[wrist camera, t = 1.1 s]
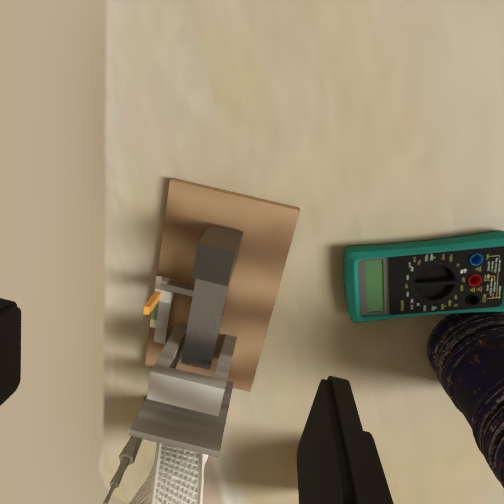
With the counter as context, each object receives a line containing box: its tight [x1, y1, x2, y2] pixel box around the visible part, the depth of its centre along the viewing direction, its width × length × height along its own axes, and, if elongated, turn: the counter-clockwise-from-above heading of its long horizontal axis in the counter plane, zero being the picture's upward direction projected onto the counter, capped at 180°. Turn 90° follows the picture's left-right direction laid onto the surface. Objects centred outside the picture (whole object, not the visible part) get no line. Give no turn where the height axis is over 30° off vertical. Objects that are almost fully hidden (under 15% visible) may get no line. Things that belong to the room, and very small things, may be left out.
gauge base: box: [129, 178, 300, 457], centre depth 32 cm, size 21×12×10 cm, turn 167°
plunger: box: [165, 224, 243, 370], centre depth 32 cm, size 13×6×6 cm, turn 167°
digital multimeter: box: [344, 231, 504, 323], centre depth 33 cm, size 7×15×3 cm, turn 98°
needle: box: [143, 284, 174, 315], centre depth 33 cm, size 1×2×4 cm
